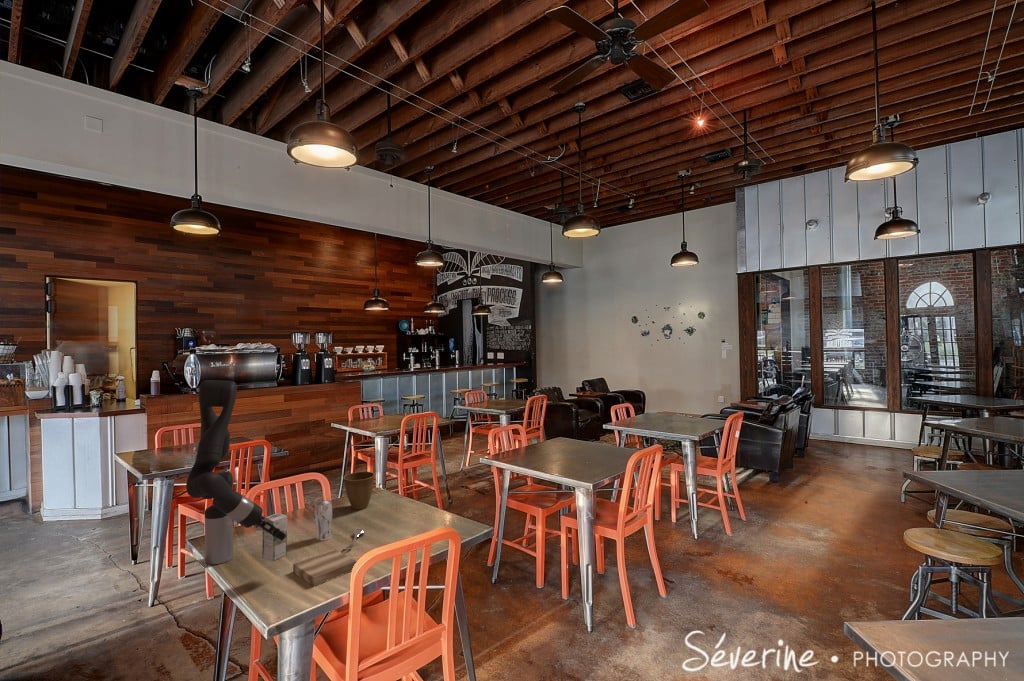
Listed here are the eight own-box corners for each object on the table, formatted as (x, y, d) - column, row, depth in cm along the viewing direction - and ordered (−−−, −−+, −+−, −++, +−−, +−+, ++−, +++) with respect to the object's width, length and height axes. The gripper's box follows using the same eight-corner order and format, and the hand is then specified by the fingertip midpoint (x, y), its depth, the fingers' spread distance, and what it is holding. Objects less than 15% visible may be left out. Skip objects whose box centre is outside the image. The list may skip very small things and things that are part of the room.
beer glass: (327, 542, 201) (326, 506, 200) (311, 541, 202) (311, 505, 202) (335, 535, 207) (335, 500, 207) (321, 534, 209) (320, 499, 209)
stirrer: (351, 543, 190) (339, 543, 190) (351, 552, 190) (339, 552, 190) (366, 526, 210) (355, 527, 210) (366, 535, 210) (355, 535, 210)
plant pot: (355, 501, 251) (354, 470, 251) (380, 503, 247) (380, 472, 247) (337, 511, 236) (337, 478, 236) (364, 513, 232) (364, 480, 232)
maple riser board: (293, 571, 175) (293, 563, 175) (334, 556, 187) (334, 548, 187) (314, 586, 164) (314, 577, 164) (356, 569, 176) (356, 561, 176)
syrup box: (276, 552, 174) (276, 512, 174) (287, 555, 172) (287, 515, 171) (262, 558, 169) (261, 517, 169) (273, 562, 166) (273, 520, 166)
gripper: (260, 506, 160) (296, 530, 169) (244, 496, 169) (278, 520, 178) (243, 527, 156) (280, 550, 165) (227, 515, 165) (263, 538, 174)
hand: (279, 534), depth 171 cm, fingers closed on syrup box, 6 cm apart
